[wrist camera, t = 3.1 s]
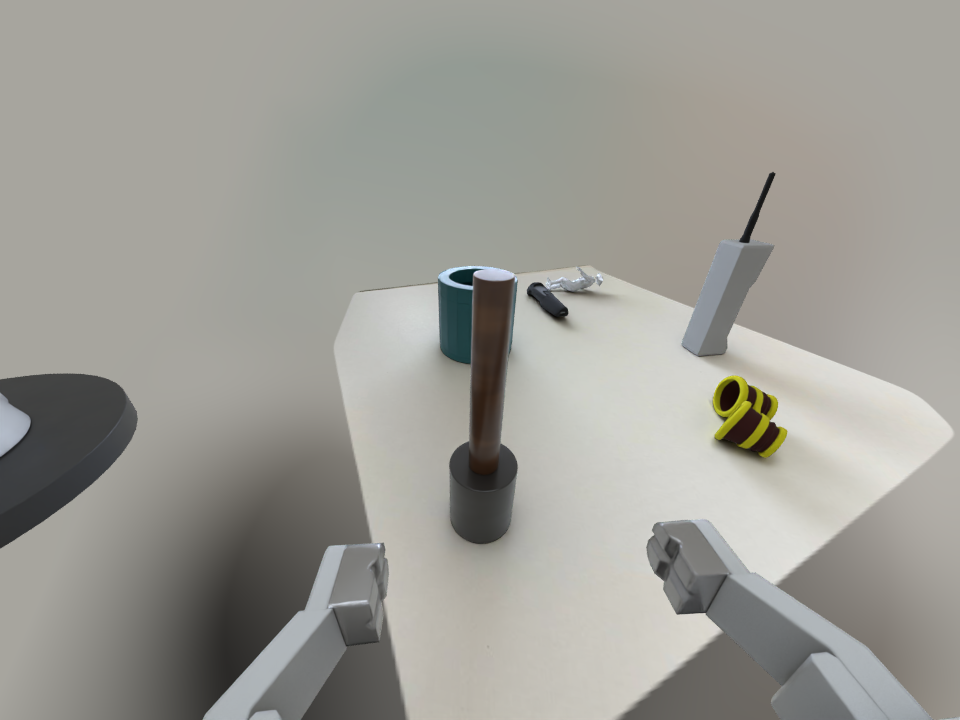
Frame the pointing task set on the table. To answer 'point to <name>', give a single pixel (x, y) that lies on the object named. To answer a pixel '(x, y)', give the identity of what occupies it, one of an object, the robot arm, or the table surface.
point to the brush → (486, 418)
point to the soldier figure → (574, 282)
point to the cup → (460, 311)
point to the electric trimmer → (547, 299)
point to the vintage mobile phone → (727, 288)
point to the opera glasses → (747, 416)
